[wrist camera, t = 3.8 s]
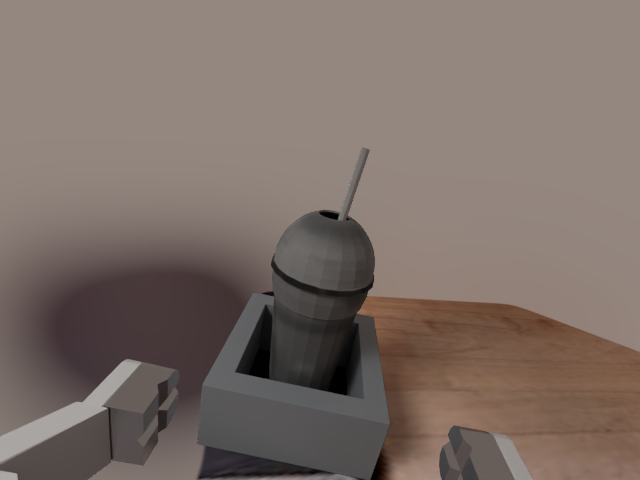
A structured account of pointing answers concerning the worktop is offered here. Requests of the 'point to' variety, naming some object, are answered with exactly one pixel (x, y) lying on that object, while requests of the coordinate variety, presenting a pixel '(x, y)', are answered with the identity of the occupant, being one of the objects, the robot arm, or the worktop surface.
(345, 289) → the beverage cup
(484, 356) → the worktop surface
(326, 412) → the holder block
